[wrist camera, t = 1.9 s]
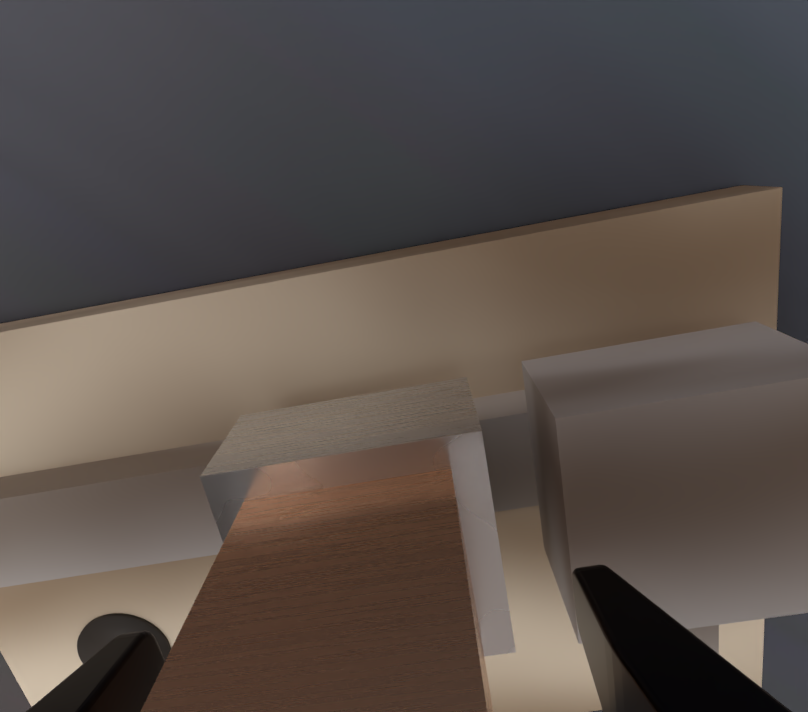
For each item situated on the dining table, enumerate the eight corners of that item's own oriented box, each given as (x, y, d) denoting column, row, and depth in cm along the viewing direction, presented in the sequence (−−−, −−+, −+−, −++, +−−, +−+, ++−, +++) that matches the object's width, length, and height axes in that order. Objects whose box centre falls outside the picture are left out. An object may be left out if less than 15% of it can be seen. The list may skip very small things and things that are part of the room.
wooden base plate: (733, 648, 14) (870, 848, 10) (95, 733, 16) (-22, 945, 11) (742, 185, 11) (968, 196, 6) (-107, 343, 12) (-399, 442, 7)
